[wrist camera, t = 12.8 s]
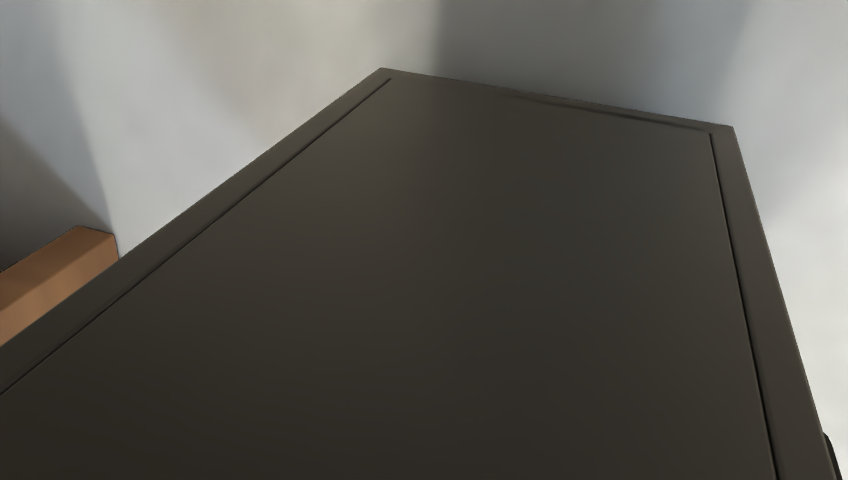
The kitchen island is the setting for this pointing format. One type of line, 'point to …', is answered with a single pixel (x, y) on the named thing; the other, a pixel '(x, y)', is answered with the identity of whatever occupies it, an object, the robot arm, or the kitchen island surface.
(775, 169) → the kitchen island surface
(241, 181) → the holder
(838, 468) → the robot arm
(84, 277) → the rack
